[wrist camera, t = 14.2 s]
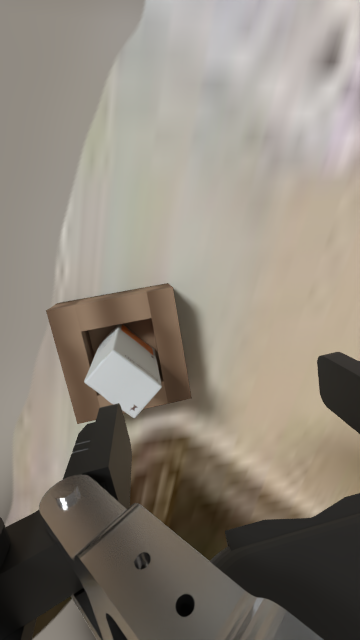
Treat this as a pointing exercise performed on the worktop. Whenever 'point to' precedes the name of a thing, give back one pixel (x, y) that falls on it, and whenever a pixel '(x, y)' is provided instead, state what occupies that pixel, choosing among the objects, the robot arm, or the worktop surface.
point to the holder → (94, 326)
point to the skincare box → (125, 371)
